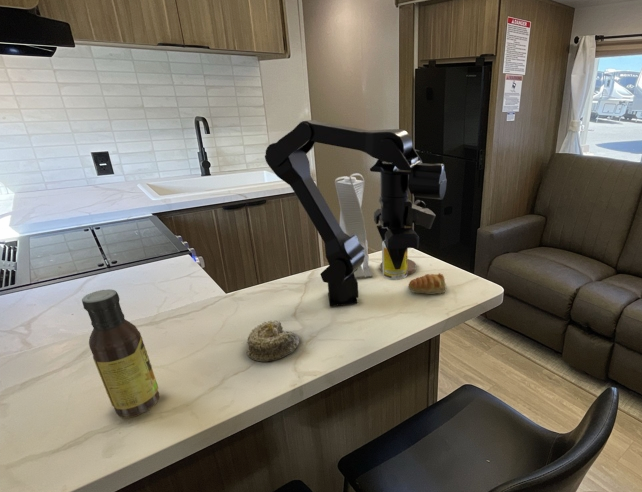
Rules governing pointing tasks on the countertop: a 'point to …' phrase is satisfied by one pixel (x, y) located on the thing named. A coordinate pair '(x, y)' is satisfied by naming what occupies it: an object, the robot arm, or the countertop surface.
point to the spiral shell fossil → (270, 342)
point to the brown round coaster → (409, 267)
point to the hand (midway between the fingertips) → (394, 263)
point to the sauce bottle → (120, 356)
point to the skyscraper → (353, 216)
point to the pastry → (428, 284)
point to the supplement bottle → (388, 266)
